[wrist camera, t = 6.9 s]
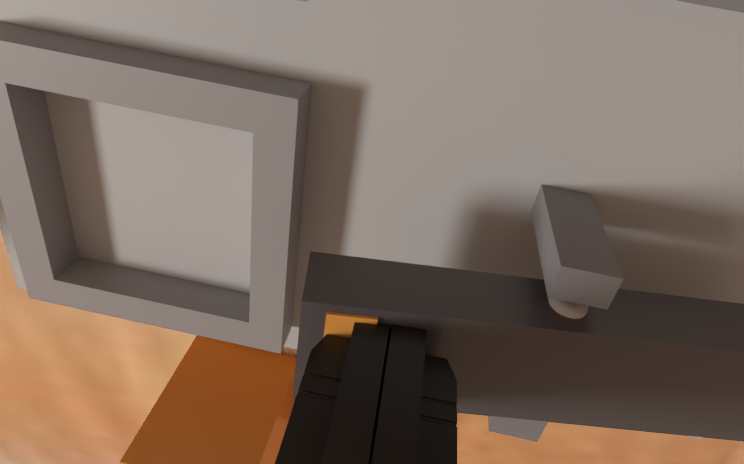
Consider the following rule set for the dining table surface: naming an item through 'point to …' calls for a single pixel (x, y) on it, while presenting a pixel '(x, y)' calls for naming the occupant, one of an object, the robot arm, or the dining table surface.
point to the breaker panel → (366, 151)
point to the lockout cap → (219, 408)
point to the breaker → (546, 345)
